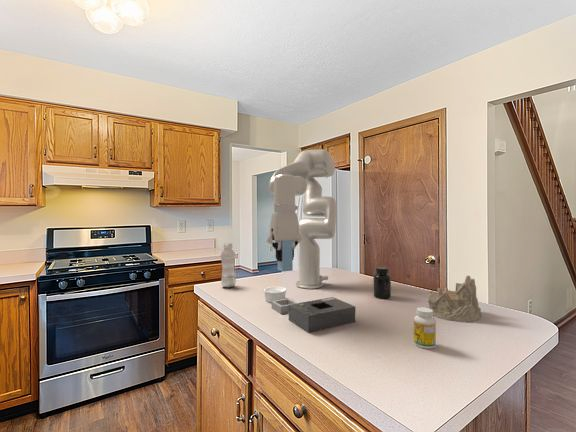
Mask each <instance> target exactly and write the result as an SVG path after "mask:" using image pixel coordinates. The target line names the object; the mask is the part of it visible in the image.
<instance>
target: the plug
mask: <svg viewBox="0 0 576 432" xmlns="http://www.w3.org/2000/svg"><path fill="white" fill-rule="evenodd" d="M281 250H282V261H277V271H279V272H282V273H283V272H291V271H292V272H293V266H294V265H293V261H294V257H292V240H285V241H282V243H281Z"/></svg>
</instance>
